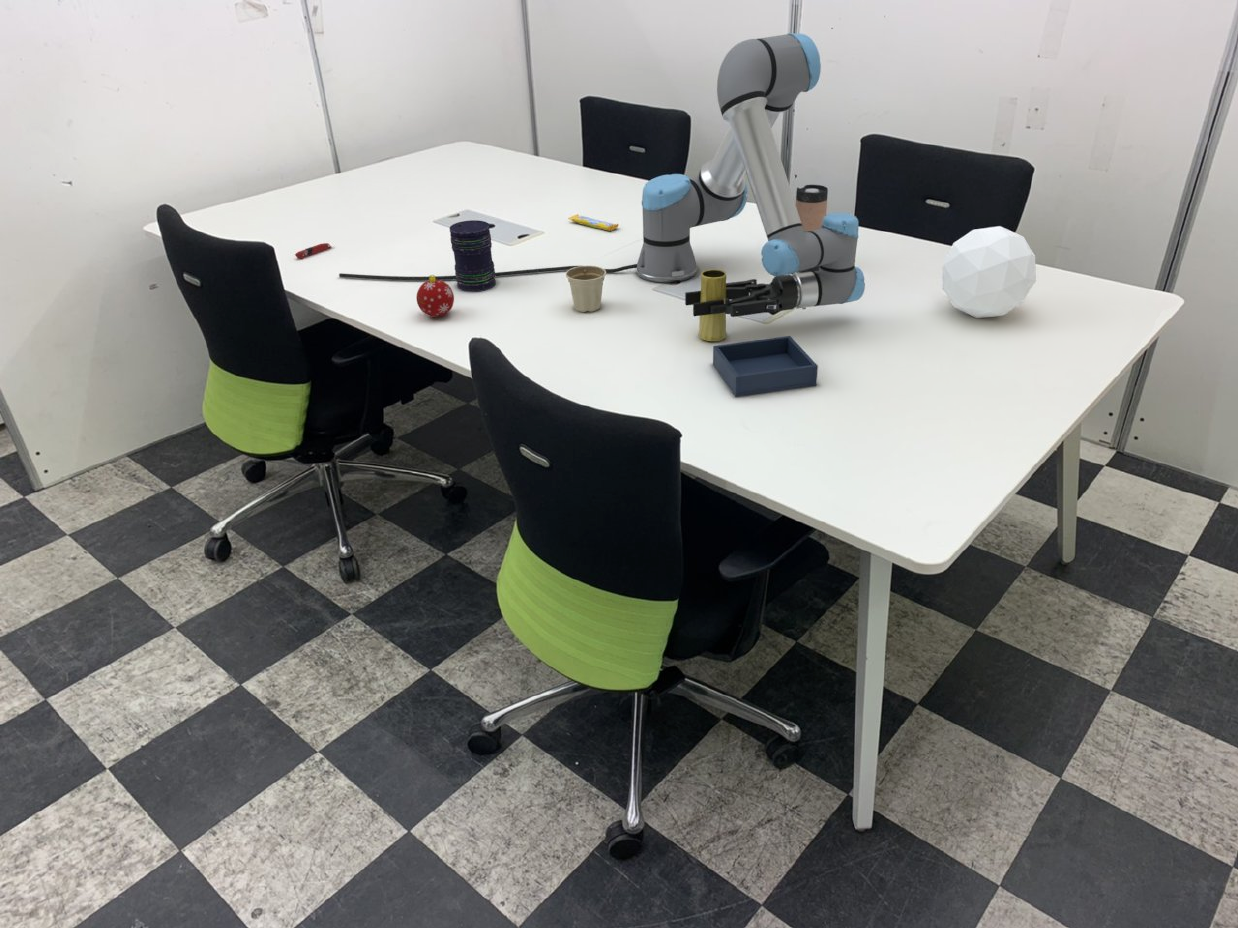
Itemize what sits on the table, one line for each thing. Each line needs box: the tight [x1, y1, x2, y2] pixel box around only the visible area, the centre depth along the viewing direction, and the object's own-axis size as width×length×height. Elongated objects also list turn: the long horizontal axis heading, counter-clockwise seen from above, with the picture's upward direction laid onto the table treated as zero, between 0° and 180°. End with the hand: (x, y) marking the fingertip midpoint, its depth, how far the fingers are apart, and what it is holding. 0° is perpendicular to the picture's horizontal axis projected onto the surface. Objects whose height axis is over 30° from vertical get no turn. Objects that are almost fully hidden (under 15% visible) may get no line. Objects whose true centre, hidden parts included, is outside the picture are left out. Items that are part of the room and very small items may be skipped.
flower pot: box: [565, 265, 607, 313], centre depth 217 cm, size 9×9×9 cm
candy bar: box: [568, 214, 620, 232], centre depth 270 cm, size 17×4×2 cm, turn 49°
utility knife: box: [294, 242, 332, 260], centre depth 259 cm, size 12×1×2 cm, turn 143°
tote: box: [712, 335, 819, 398], centre depth 186 cm, size 17×15×4 cm
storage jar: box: [449, 219, 497, 293], centre depth 231 cm, size 10×10×15 cm
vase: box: [697, 268, 728, 342], centre depth 199 cm, size 6×6×14 cm
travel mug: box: [795, 184, 829, 273], centre depth 231 cm, size 8×8×20 cm
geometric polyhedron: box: [941, 225, 1037, 319], centre depth 204 cm, size 19×20×20 cm
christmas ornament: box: [416, 274, 455, 318], centre depth 216 cm, size 9×9×10 cm
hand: (689, 304), depth 198 cm, fingers closed on vase, 5 cm apart
